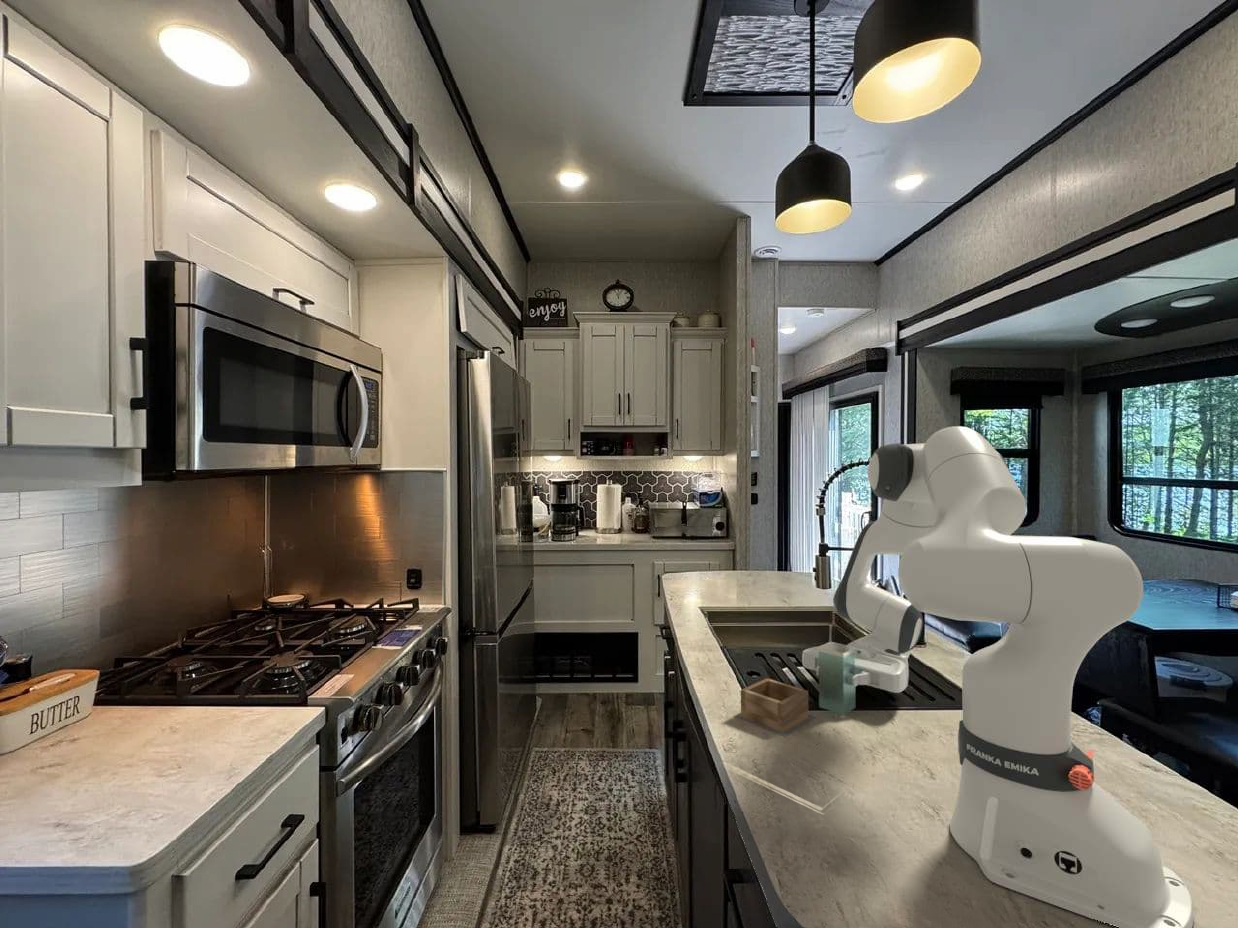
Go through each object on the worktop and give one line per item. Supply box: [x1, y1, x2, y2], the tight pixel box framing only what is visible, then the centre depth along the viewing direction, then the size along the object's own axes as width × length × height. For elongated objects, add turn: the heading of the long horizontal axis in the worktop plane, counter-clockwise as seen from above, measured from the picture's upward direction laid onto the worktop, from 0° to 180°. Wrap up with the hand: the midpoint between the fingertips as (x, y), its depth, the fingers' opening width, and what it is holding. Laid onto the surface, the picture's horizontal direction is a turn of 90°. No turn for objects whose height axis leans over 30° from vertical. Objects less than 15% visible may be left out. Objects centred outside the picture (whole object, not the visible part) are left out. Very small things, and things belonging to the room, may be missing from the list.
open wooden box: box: [740, 677, 810, 732], centre depth 105 cm, size 9×9×5 cm
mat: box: [733, 712, 817, 737], centre depth 105 cm, size 11×11×1 cm
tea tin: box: [818, 641, 856, 716], centre depth 109 cm, size 5×5×12 cm
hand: (834, 676), depth 108 cm, fingers closed on tea tin, 5 cm apart
